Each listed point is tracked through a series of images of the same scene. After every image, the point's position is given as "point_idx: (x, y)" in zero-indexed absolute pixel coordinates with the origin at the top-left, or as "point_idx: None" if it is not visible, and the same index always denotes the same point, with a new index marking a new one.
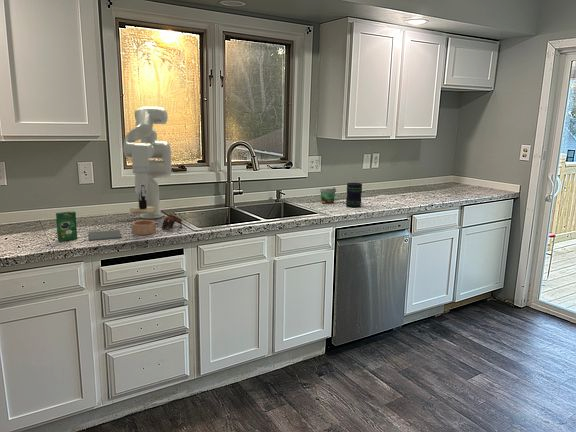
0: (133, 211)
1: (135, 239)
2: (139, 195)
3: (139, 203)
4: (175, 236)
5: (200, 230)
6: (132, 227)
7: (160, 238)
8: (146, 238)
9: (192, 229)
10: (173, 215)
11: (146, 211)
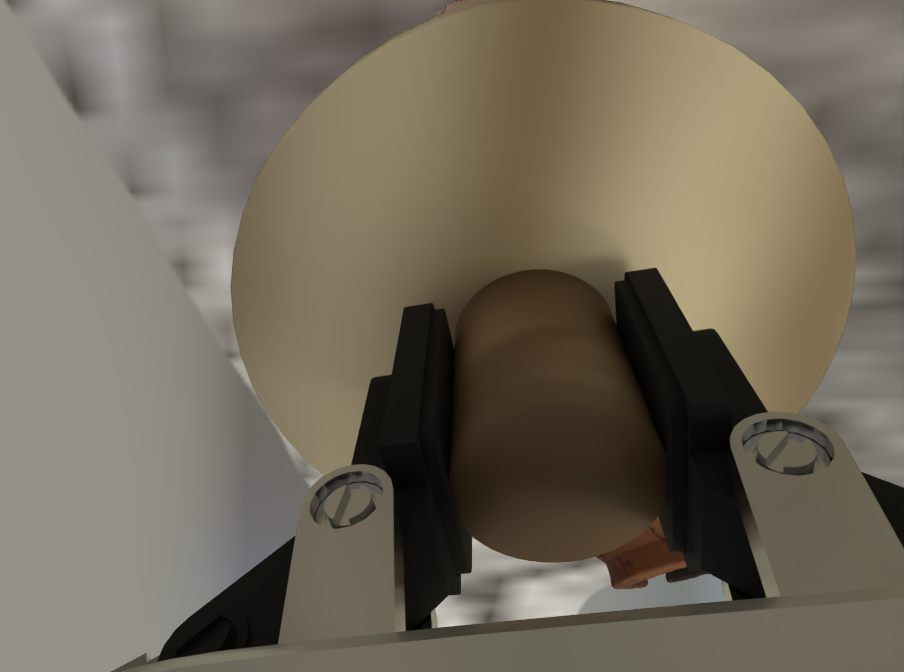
0: (290, 131)
1: (163, 72)
2: (762, 552)
3: (504, 359)
4: (303, 461)
5: (488, 615)
6: (444, 13)
7: (227, 345)
8: (220, 207)
9: (536, 575)
10: (649, 577)
11: (275, 406)
